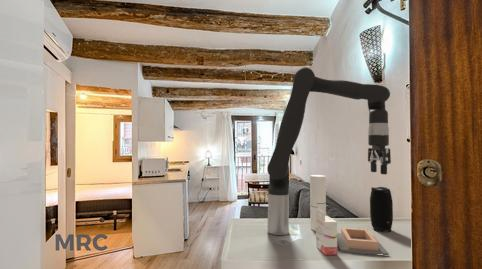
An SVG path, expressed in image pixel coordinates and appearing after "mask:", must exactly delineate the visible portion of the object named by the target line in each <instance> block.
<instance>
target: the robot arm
mask: <svg viewBox="0 0 482 269" xmlns="http://www.w3.org/2000/svg"><path fill="white" fill-rule="evenodd" d="M291 88H292V89H291V92H290V96H289V98H288V102H287V104H286V106H285V109H284V111H283V112H284V113H283V116H282V118H281V122H280V126H279V129H278V133H277V137H276V141H275V142H276V143H275V147H274V150H273V152H272V155H271V157H270V159H269V163H268V165H267V169H266V170H267V173H268V175H269V176H268V177H269V178H268V179H269V182H268V189H267V190H268V195H267V198H268V199H267V200H268V202H267V234H271V235H275V236H285V235H288V234H289V232H290V230H289V229H290V221H289V220H290V218H289V217H290V216H289V215H290V209H289V208H290V206H289V204H290V200H289V198H290V197H289V196H290V195H289V192H290V190H289V189H290V166H289V162H290V158H291V154H292V150H293V148H294V146H295V145H296V142H297V140H298V137H299V136H300V132H301V129H302V125H303V124H304V123H303V122H304V118H305V113H306V104H307V100H308V97H309V96H310V95H309V94H310V92H312V93H322V94H330V95H333V96H338V97H343V98H348V99H352V100H365V101H367V109H368V113H369V114H368V118H369V119H368V129H367V130H368V133H367V134H368V137H367V138H368V139H367V141H368V146H370V147H368V148H367V161H368V162H369V163H370V172H371V173H377V170H378V169H377V166H378V165H377V164H378V163H377V162H378V161H379V163H380V174H381V175H388V166H389V165H390V164H391V162H392V160H391V158H392V157H391V156H392V155H391V148H387V146H389V145H390V134H389V133H390V130H389V129H390V127H389V113H388V111H387V110H386V101H388V100H389V98H390V97H391V96H390V95H391V92H390V89H389V88H388V87H386V86H384V85H379V84H373V83H371V84H370V83H360V82H356V81H355V82H354V81H352V80H343V79H326V78H325V79H324V78H321V77H318V76H316V75H315V73H314V71H313V69H311V68H309V67H301V68H300V69H298V70H297V71H296V72H295V74H294V76H293V82H292V87H291Z"/></svg>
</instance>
